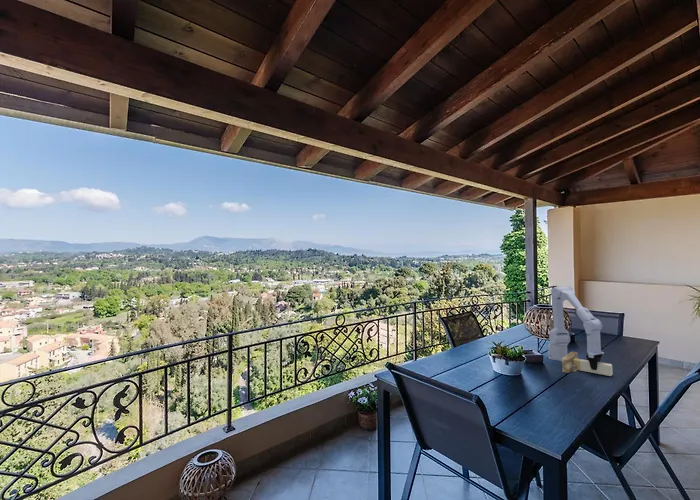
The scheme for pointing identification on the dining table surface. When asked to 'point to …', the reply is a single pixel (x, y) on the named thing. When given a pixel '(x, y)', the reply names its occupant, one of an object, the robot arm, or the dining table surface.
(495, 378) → the dining table surface
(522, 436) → the dining table surface
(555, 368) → the dining table surface
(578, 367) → the rail
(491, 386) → the dining table surface
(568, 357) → the post
